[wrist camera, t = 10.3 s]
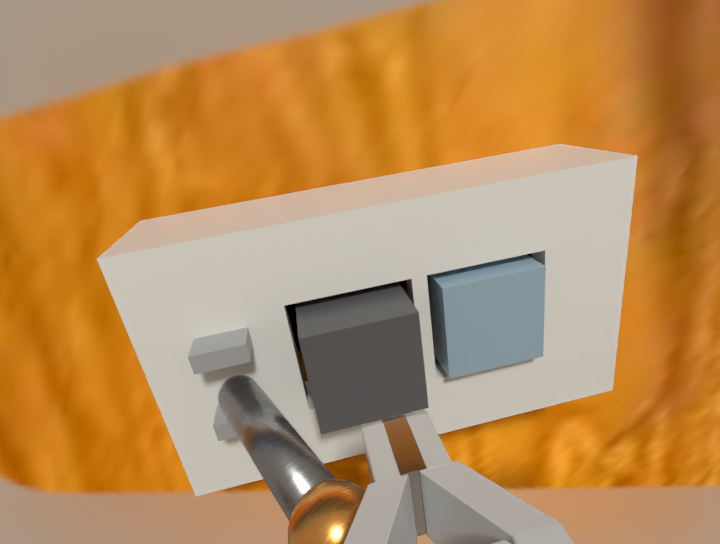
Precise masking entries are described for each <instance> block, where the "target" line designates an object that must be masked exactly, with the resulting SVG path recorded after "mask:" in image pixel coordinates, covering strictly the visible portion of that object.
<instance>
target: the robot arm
mask: <svg viewBox="0 0 720 544" xmlns="http://www.w3.org/2000/svg"><path fill="white" fill-rule="evenodd" d="M361 433H362V439H363V444H364V450H365V455H366V461H367V466H368V471H369V476H370V481H371V484H368V486H367V489H366V491H365V493H364V496H363V498H362V500H361V503H360V505H359V508H358V510H357V512H356V515H355V517H354V520H353V522H352V524H351V527H350V529H349V532H348V534H347V536H346V539H345V541H344V544H417V536H420V535H424V534H427V536H428V537H429V538H430V539H431V540H432V541H433V542H434V543H436V544H574V543H573V541H572V540H571V538H570V537H569V536H568V534H567V532H566V531H565V529H564V528H563V526H562V525H561V523H560V522H558V521H556V520H555V519H553V518H552V517H550V516H548V515H547V514H545V513H543V512H542V511H540V510H538V509H537V508H535V507H533V506H532V505H530V504H529V503H527V502H525V501H524V500H522V499H520V498H519V497H517V496H515V495H514V494H512V493H510V492H509V491H507V490H505V489H504V488H502V487H501V486H499V485H497V484H496V483H494V482H492V481H491V480H489V479H487V478H486V477H484V476H482V475H481V474H479V473H477V472H476V471H474V470H473V469H471V468H469V467H468V466H466V465H464V464H463V463H461V462H459V461H456V462H451V460H450V458H449V456H448V453H447V451H446V449H445V447H444V445H443V443H442V441H441V439H440V437H439V435H438V433H437V431H436V429H435V427H434V425H433V423H432V421H431V419H430V417H429V414H428V412H427V411H426V410H420V411H416V412H412V413H408V414H405V415H402V416H397V417H392V418H388V419H383V420H382V421H376V422H372V423H367V424H362V425H361Z"/></svg>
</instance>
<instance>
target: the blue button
mask: <svg viewBox="0 0 720 544" xmlns="http://www.w3.org/2000/svg"><path fill="white" fill-rule="evenodd" d="M545 272H546V266H544V265H543V264H541V263H539V262H538V261H536V260H535V259H533V258H531V257H530V256H528V255H521V256H516V257H512V258H507V259H502V260H497V261H493V262H488V263H483V264H479V265H474V266H469V267H464V268H460V269H455V270H450V271H445V272H441V273H436V274H431V275H427V282H428V293H429V304H430V315H431V325H432V336H433V347H434V355H435V356H436V358H437V360H438V361H439V363H440V364H441V366H442V368H443V369H444V371H445V373H446V374H447V376H448V377H449V379H452V378H456V377H460V376H464V375H468V374H472V373H476V372H481V371H485V370H489V369H493V368H497V367H501V366H506V365H510V364H514V363H518V362H522V361H526V360H530V359H535V358H539V357H543V346H544V309H545Z"/></svg>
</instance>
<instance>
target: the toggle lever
mask: <svg viewBox="0 0 720 544" xmlns="http://www.w3.org/2000/svg"><path fill="white" fill-rule="evenodd" d="M218 403H219V406H220V408H221V410H222V412H223V413H224V415H225V417H226V418H227V420H228V421H229V423H230V425H231V426H232V428H233V430H234V431H235V433H236V435H237V436H238V438H239V439H240V441H241V443H242V444H243V446H244V448H245V449H246V451H247V453H248V454H249V456H250V458H251V459H252V461H253V462H254V464H255V466H256V467H257V469H258V471H259V472H260V474H261V476H262V477H263V479H264V480H265V482H266V484H267V485H268V487H269V489H270V490H271V492H272V494H273V495H274V497H275V498H276V500H277V502H278V503H279V505H280V507H281V508H282V510H283V512H284V513H285V515H286V517H287V518H288V520H289V521H290V522H289V527H288V543H289V544H344V541H345V539H346V536H347V534H348V532H349V529H350V527H351V524H352V522H353V520H354V517H355V515H356V512H357V510H358V508H359V505H360V503H361V500H362V498H363V496H364V493H365V490H364V489H363V488H362V487H360V486H359V485H357V484H355V483H353V482H351V481H347V480H343V479H335V478H334V476H333V475H332V474H331V473H330V471H329V470H328V469H327V468H326V467H325V465H324V464H323V463H322V462H321V460H320V459H319V458H318V457H317V456H316V454H315V453H314V452H313V451H312V449H311V448H310V447H309V446H308V445H307V443H306V442H305V441H304V440H303V438H302V437H301V436H300V435H299V434H298V432H297V431H296V430H295V429H294V428H293V426H292V425H291V424H290V423H289V421H288V420H287V419H286V418H285V417H284V415H283V414H282V413H281V412H280V410H279V409H278V408H277V407H276V406H275V404H274V403H273V402H272V401H271V399H270V398H269V397H268V396H267V395H266V393H265V392H264V391H263V390H262V389H261V387H260V386H259V385H258V384H257V382H256V381H255V380H254V379H252V378H251V377H249V376H246V375H236V376H233V377H231V378H229V379H227V380H226V381H225V382H224V383H223V384H222V386H221V388H220V390H219V393H218Z"/></svg>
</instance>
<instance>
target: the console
mask: <svg viewBox="0 0 720 544" xmlns="http://www.w3.org/2000/svg"><path fill="white" fill-rule="evenodd" d="M637 157H638V156H636V155H630V154H623V153H616V152H610V151H603V150H597V149H590V148H584V147H577V146H571V145H564V144H555V145H550V146H544V147H539V148H534V149H528V150H523V151H517V152H512V153H506V154H501V155H495V156H490V157H484V158H479V159H474V160H468V161H463V162H457V163H452V164H446V165H441V166H435V167H430V168H425V169H419V170H414V171H408V172H403V173H397V174H392V175H386V176H381V177H375V178H370V179H365V180H359V181H354V182H348V183H343V184H337V185H332V186H326V187H321V188H315V189H310V190H305V191H299V192H294V193H288V194H283V195H277V196H272V197H266V198H261V199H256V200H250V201H245V202H239V203H234V204H228V205H223V206H217V207H212V208H206V209H201V210H196V211H190V212H185V213H179V214H174V215H168V216H163V217H157V218H152V219H146V220H141V221H139V222H138V223H137V224H136V225H135V226H134V227H132V228H131V229H130V230H129V231H128V232H127V233H126V234H124V235H123V236H122V237H121V238H120V239H119V240H118V241H117V242H115V243H114V244H113V245H112V246H111V247H110V248H109V249H107V250H106V251H105V252H104V253H103V254H102V255H101V256H100V257H98V258H97V261H98V263H99V266H100V268H101V270H102V273H103V275H104V278H105V280H106V282H107V285H108V287H109V290H110V292H111V294H112V297H113V299H114V302H115V304H116V306H117V309H118V311H119V314H120V316H121V318H122V321H123V323H124V326H125V328H126V330H127V333H128V335H129V337H130V340H131V342H132V345H133V347H134V349H135V352H136V354H137V357H138V359H139V361H140V364H141V366H142V369H143V371H144V373H145V376H146V378H147V381H148V383H149V385H150V388H151V390H152V393H153V395H154V397H155V400H156V402H157V404H158V407H159V409H160V412H161V414H162V416H163V419H164V421H165V424H166V426H167V428H168V431H169V433H170V436H171V438H172V440H173V443H174V445H175V448H176V450H177V452H178V455H179V457H180V460H181V462H182V464H183V467H184V469H185V471H186V474H187V476H188V479H189V481H190V483H191V486H192V488H193V491H194V493H195V495H196V496H199V495H203V494H207V493H211V492H215V491H219V490H223V489H227V488H231V487H235V486H238V485H242V484H246V483H250V482H254V481H258V480H262V479H263V477H262V476H261V474H260V472H259V471H258V469H257V467H256V466H255V464H254V462H253V461H252V459H251V458H250V456H249V454H248V453H247V451H246V449H245V448H244V446H243V444H242V443H241V441H240V439H239V438H238V436H237V435H236V433H235V431H234V430H233V428H232V426H231V425H230V423H229V421H228V420H227V418H226V417H225V415H224V413H223V412H222V410H221V408H220V406H219V403H218V393H219V390H220V388H221V386H222V384H223V383H224V382H225V381H226V380H227V379H229V378H231V377H233V376H236V375H246V376H249V377H251V378H252V379H254V380H255V381H256V382H257V384H258V385H259V386H260V387H261V389H262V390H263V391H264V392H265V393H266V395H267V396H268V397H269V398H270V399H271V401H272V402H273V403H274V404H275V406H276V407H277V408H278V409H279V410H280V412H281V413H282V414H283V415H284V417H285V418H286V419H287V420H288V421H289V423H290V424H291V425H292V426H293V428H294V429H295V430H296V431H297V432H298V434H299V435H300V436H301V437H302V438H303V440H304V441H305V442H306V443H307V445H308V446H309V447H310V448H311V449H312V451H313V452H314V453H315V454H316V456H317V457H318V458H319V459H320V460H321V462H322V463H323V464H325V463H329V462H333V461H336V460H340V459H344V458H348V457H352V456H356V455H360V454H364V453H365V450H364V444H363V439H362V433H361V425H362V424H361V425H357V426H353V427H349V428H345V429H341V430H337V431H333V432H329V433H325V434H321V432H320V428H319V424H318V420H317V415H316V411H315V407H314V403H313V399H312V394H311V390H310V386H309V382H308V381H304V377H303V373H302V369H301V365H300V361H299V356H298V352H297V348H296V344H295V340H294V336H293V332H292V327H291V323H290V319H289V315H288V311H287V307H286V305H290V304H295V303H299V302H304V301H309V300H313V299H318V298H323V297H328V296H332V295H337V294H342V293H346V292H351V291H356V290H361V289H365V288H370V287H375V286H379V285H384V284H389V283H394V282H398V281H403V280H406V287H407V296H408V297H409V299H410V300H411V302H412V303H413V304H414V306H415V307H416V309H417V310H418V312H419V319H420V329H421V339H422V348H423V358H424V367H425V377H426V386H427V396H428V406H429V408H426V409H422V410H426V411H427V412H428V414H429V417H430V419H431V421H432V423H433V425H434V427H435V429H436V431H437V433H438V434H442V433H446V432H450V431H454V430H458V429H462V428H466V427H470V426H474V425H478V424H481V423H485V422H489V421H493V420H497V419H501V418H505V417H509V416H513V415H517V414H521V413H525V412H529V411H532V410H536V409H540V408H544V407H548V406H552V405H556V404H560V403H564V402H568V401H572V400H576V399H579V398H583V397H587V396H591V395H595V394H599V393H603V392H607V391H611V390H613V381H614V372H615V363H616V353H617V344H618V335H619V325H620V316H621V307H622V297H623V288H624V279H625V269H626V260H627V251H628V241H629V232H630V222H631V213H632V204H633V194H634V185H635V176H636V166H637ZM530 253H532V258H533V259H535V260H536V261H538V262H539V263H541V264H543V265H544V266H546V272H545V309H544V346H543V357H539V358H535V359H530V360H526V361H522V362H518V363H514V364H510V365H506V366H501V367H497V368H493V369H489V370H485V371H481V372H476V373H472V374H468V375H464V376H460V377H456V378H452V379H449V377H448V376H447V374H446V373H445V371H444V369H443V368H442V366H441V364H440V363H439V361H438V360H437V358H436V356H435V355H434V347H433V336H432V325H431V315H430V304H429V293H428V282H427V275H431V274H436V273H441V272H445V271H450V270H455V269H460V268H464V267H469V266H474V265H479V264H483V263H488V262H493V261H497V260H502V259H507V258H512V257H516V256H521V255H526V254H530ZM418 411H420V410H418ZM414 412H416V411H414ZM410 413H412V412H410ZM406 414H408V413H406ZM402 415H405V414H402ZM402 415H398V416H402ZM394 417H397V416H394ZM390 418H392V417H390ZM386 419H388V418H386ZM382 420H383V419H382ZM382 420H378V421H382ZM374 422H376V421H374ZM370 423H372V422H370ZM365 424H367V423H365Z"/></svg>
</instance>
